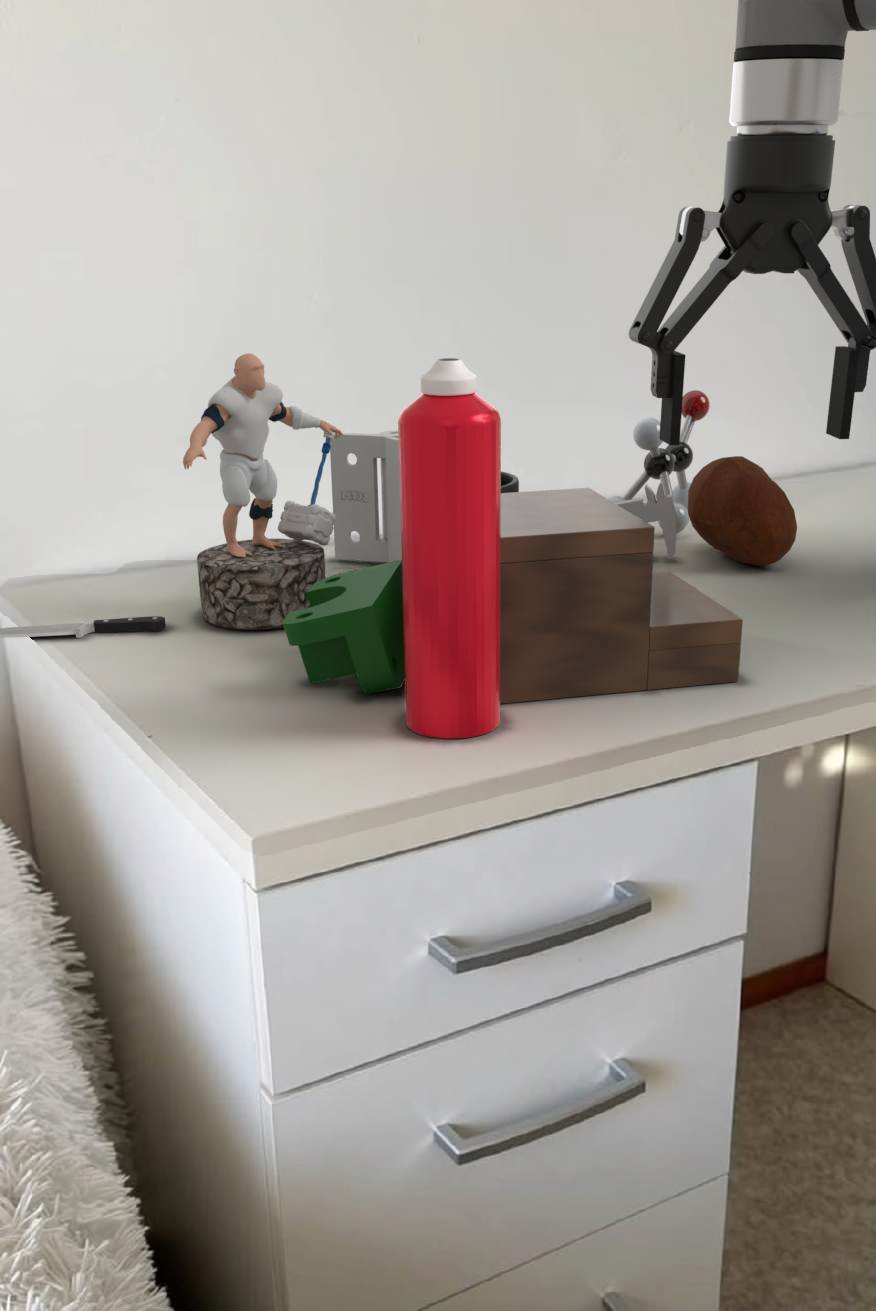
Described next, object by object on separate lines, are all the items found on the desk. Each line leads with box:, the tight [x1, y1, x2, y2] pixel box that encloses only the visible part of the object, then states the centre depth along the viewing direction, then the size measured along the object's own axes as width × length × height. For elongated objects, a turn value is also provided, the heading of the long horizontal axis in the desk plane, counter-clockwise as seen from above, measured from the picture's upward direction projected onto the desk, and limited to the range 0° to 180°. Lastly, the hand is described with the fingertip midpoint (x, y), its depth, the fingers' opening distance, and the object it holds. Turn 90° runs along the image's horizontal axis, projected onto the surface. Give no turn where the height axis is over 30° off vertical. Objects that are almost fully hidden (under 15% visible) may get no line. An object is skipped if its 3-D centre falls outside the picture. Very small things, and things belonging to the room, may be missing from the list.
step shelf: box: [500, 487, 744, 705], centre depth 89 cm, size 16×12×10 cm
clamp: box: [282, 559, 405, 695], centre depth 90 cm, size 12×6×9 cm, turn 166°
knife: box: [0, 615, 167, 639], centre depth 99 cm, size 15×1×2 cm
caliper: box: [615, 481, 677, 560], centre depth 116 cm, size 20×1×6 cm, turn 79°
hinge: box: [329, 429, 402, 563], centre depth 112 cm, size 14×5×10 cm, turn 46°
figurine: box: [182, 352, 343, 630], centre depth 99 cm, size 15×9×18 cm, turn 141°
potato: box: [688, 455, 798, 567], centre depth 114 cm, size 8×12×8 cm, turn 21°
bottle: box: [397, 357, 502, 739], centre depth 78 cm, size 6×5×20 cm
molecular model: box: [607, 389, 711, 535], centre depth 126 cm, size 8×12×11 cm
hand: (754, 439), depth 110 cm, fingers open, 13 cm apart
